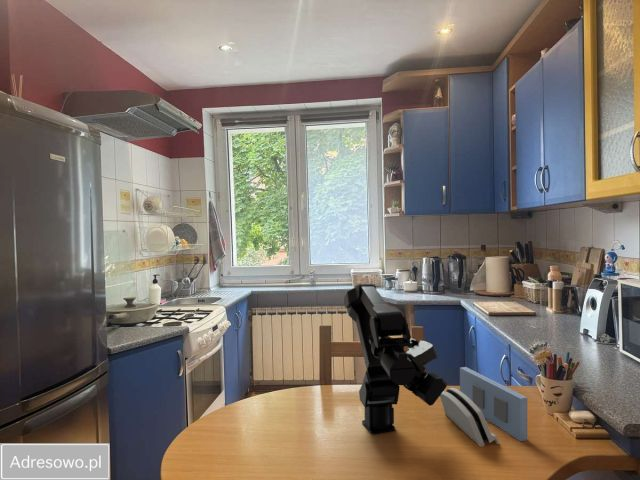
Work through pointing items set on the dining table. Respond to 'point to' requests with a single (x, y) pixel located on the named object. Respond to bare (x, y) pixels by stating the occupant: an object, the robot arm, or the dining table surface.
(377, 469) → the dining table surface
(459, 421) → the white black-striped curved device
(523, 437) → the cabinet side panel
